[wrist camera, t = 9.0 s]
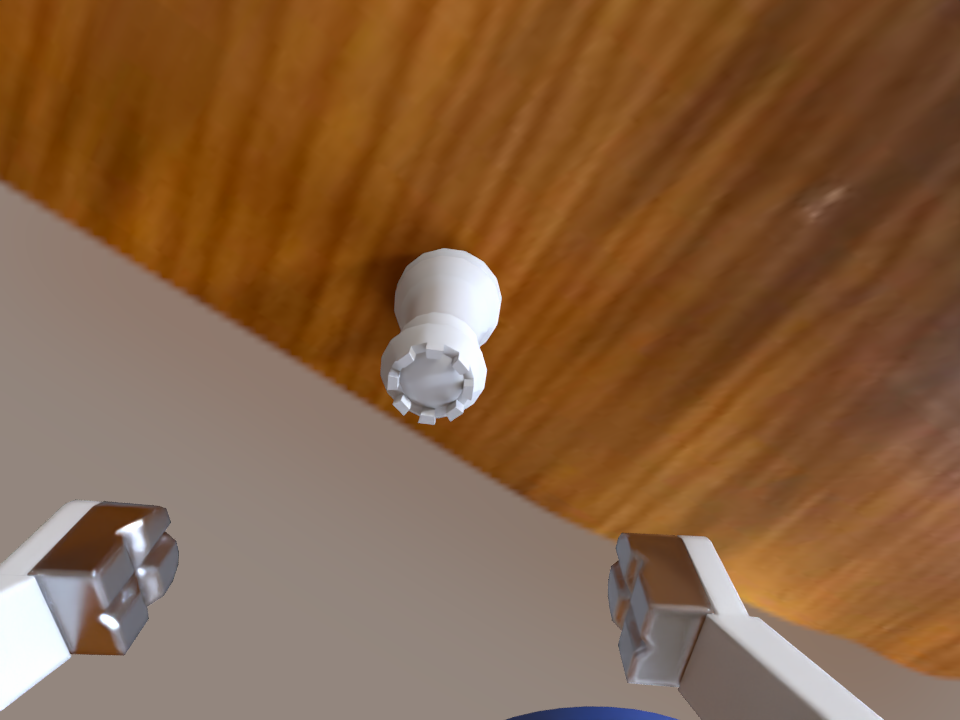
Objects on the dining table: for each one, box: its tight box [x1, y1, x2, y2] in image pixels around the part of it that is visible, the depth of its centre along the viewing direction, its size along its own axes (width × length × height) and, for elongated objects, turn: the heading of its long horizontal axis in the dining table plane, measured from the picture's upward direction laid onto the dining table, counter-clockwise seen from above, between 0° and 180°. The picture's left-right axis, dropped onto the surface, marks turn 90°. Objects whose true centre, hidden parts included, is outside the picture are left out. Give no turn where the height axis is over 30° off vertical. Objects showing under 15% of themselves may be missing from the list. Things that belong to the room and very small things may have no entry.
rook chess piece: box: [381, 248, 502, 425], centre depth 19 cm, size 4×4×8 cm
